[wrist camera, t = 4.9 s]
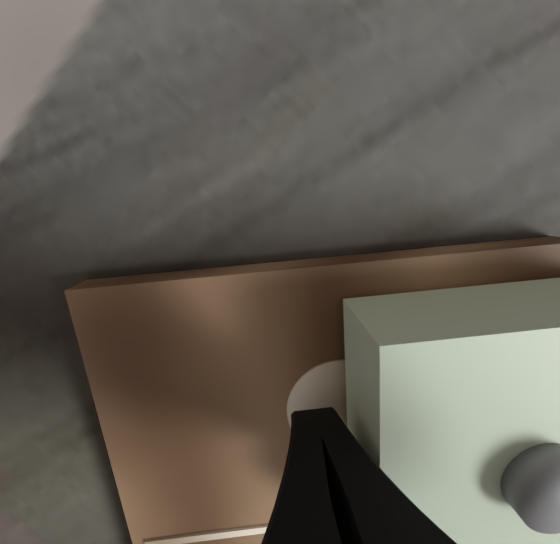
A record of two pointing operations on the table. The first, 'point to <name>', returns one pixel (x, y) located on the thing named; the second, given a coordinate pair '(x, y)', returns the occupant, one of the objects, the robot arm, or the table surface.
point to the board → (241, 371)
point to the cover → (463, 404)
